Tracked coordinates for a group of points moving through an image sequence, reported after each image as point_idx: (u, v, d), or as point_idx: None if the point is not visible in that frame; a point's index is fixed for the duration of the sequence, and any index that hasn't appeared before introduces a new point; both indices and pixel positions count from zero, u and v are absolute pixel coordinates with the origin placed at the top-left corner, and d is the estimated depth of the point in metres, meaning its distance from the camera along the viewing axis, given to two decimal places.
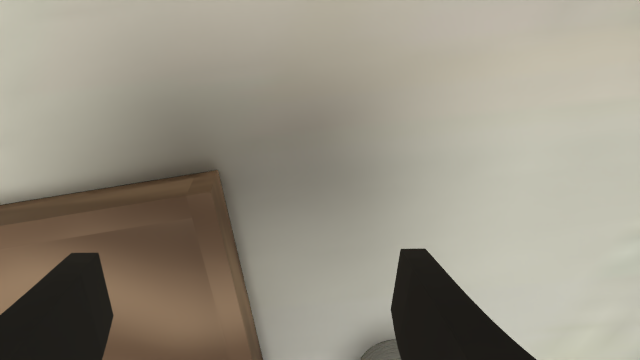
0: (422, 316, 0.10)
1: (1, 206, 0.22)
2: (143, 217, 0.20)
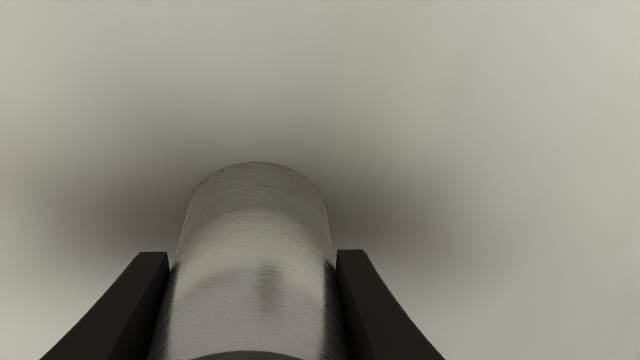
0: (349, 318, 0.10)
1: None
2: None
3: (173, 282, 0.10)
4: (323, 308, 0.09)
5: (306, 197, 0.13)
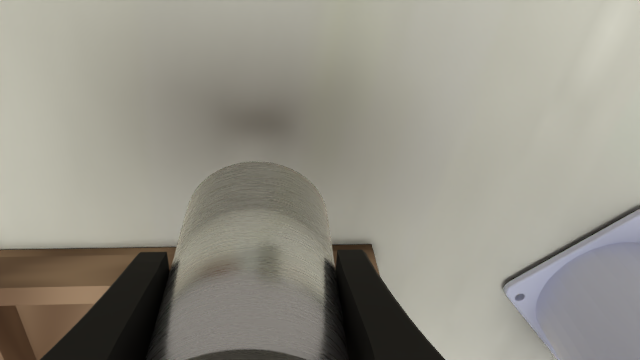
0: (349, 318, 0.10)
1: None
2: None
3: (173, 281, 0.10)
4: (323, 306, 0.09)
5: (306, 196, 0.13)
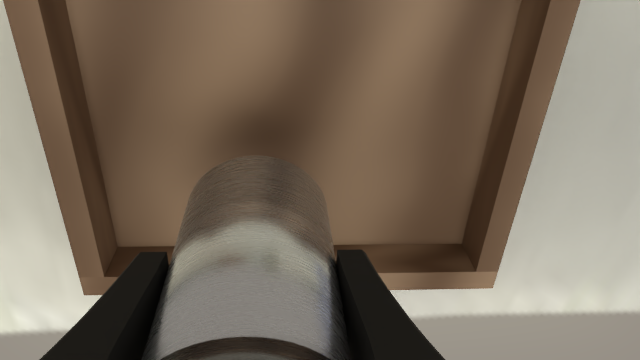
0: (349, 318, 0.10)
1: None
2: (32, 31, 0.15)
3: (175, 269, 0.10)
4: (327, 300, 0.09)
5: (309, 192, 0.13)
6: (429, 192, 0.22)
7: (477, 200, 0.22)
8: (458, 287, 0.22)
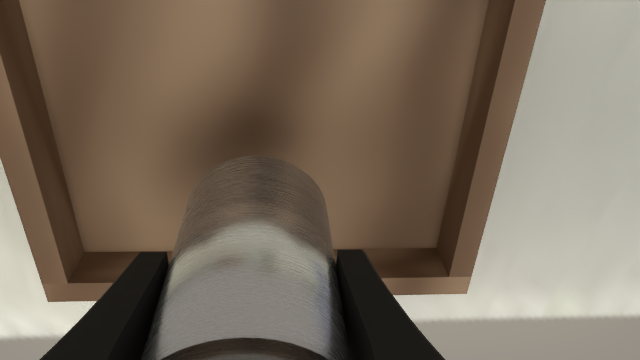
0: (349, 318, 0.10)
1: None
2: None
3: (175, 270, 0.10)
4: (326, 300, 0.09)
5: (309, 193, 0.13)
6: (401, 196, 0.21)
7: (450, 204, 0.21)
8: (431, 292, 0.22)
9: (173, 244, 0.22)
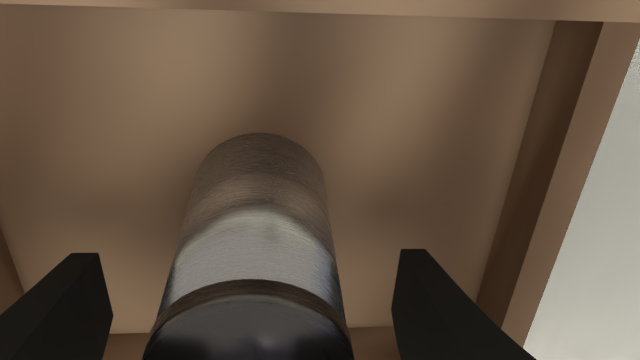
0: (421, 316, 0.10)
1: None
2: None
3: (188, 229, 0.11)
4: (322, 255, 0.11)
5: (308, 165, 0.14)
6: None
7: (489, 278, 0.17)
8: None
9: (149, 325, 0.18)
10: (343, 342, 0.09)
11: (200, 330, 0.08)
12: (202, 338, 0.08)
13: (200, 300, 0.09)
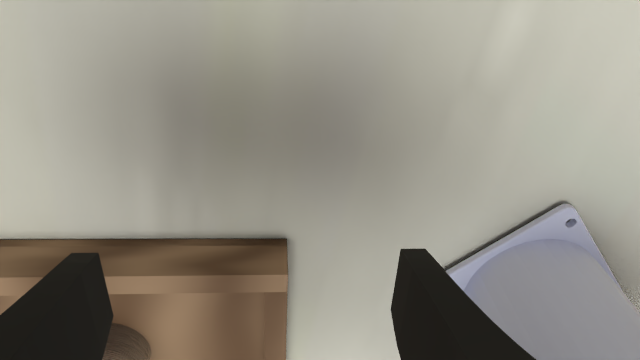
0: (421, 316, 0.10)
1: None
2: None
3: None
4: None
5: (130, 345, 0.24)
6: None
7: None
8: None
9: None
10: None
11: None
12: None
13: None
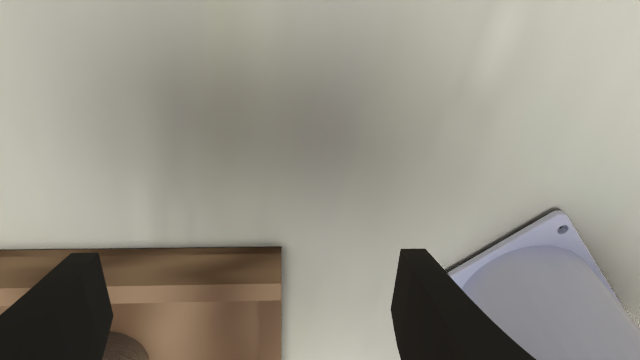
0: (421, 316, 0.10)
1: None
2: None
3: None
4: None
5: (127, 353, 0.24)
6: None
7: None
8: None
9: None
10: None
11: None
12: None
13: None
